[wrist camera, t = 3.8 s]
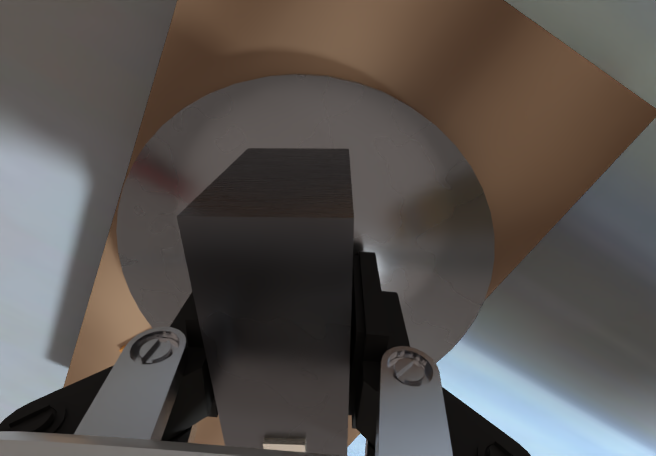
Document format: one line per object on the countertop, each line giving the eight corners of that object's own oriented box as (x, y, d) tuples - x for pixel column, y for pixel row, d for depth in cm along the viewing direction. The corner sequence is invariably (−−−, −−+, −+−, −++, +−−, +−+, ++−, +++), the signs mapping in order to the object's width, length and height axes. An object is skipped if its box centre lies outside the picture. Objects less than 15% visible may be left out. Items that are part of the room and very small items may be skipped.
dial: (85, 74, 11) (-193, 91, 5) (522, 72, 10) (736, 89, 5) (171, 379, 16) (83, 544, 11) (454, 387, 16) (514, 563, 10)
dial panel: (614, 104, 12) (666, 112, 10) (307, 457, 22) (304, 497, 20) (253, -147, 10) (231, -198, 8) (83, 375, 19) (54, 410, 18)
